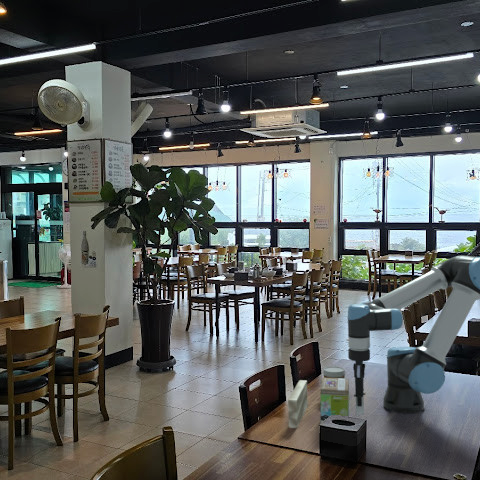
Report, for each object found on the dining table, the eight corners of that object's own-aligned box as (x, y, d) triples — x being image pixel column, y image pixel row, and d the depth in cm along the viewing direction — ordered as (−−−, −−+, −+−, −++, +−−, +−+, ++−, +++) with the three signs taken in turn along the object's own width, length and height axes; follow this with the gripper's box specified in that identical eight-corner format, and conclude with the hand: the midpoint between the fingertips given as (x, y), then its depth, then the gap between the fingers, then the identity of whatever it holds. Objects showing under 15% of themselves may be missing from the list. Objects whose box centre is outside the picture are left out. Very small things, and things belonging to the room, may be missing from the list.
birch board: (307, 405, 218) (306, 380, 217) (297, 428, 195) (296, 400, 194) (300, 405, 219) (299, 380, 218) (288, 427, 196) (288, 399, 195)
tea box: (349, 432, 190) (348, 389, 190) (320, 430, 192) (319, 388, 192) (349, 416, 205) (348, 377, 204) (322, 415, 207) (321, 376, 206)
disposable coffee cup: (320, 400, 223) (319, 371, 223) (325, 393, 232) (325, 365, 232) (343, 403, 220) (343, 373, 219) (348, 395, 228) (347, 367, 228)
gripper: (349, 343, 202) (350, 407, 203) (346, 352, 190) (347, 419, 191) (370, 344, 200) (371, 408, 201) (369, 353, 188) (370, 421, 189)
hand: (359, 413), depth 196 cm, fingers closed
